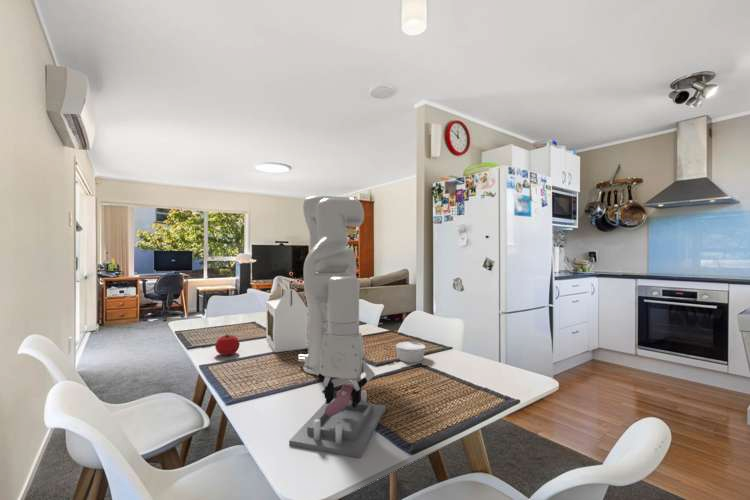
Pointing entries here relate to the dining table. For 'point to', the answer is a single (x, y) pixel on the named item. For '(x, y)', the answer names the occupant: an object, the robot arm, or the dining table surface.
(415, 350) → the ramekin
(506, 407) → the dining table surface
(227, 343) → the tomato
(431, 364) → the dining table surface
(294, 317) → the gable box
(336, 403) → the pink rounded piece
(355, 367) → the robot arm
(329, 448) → the tray
